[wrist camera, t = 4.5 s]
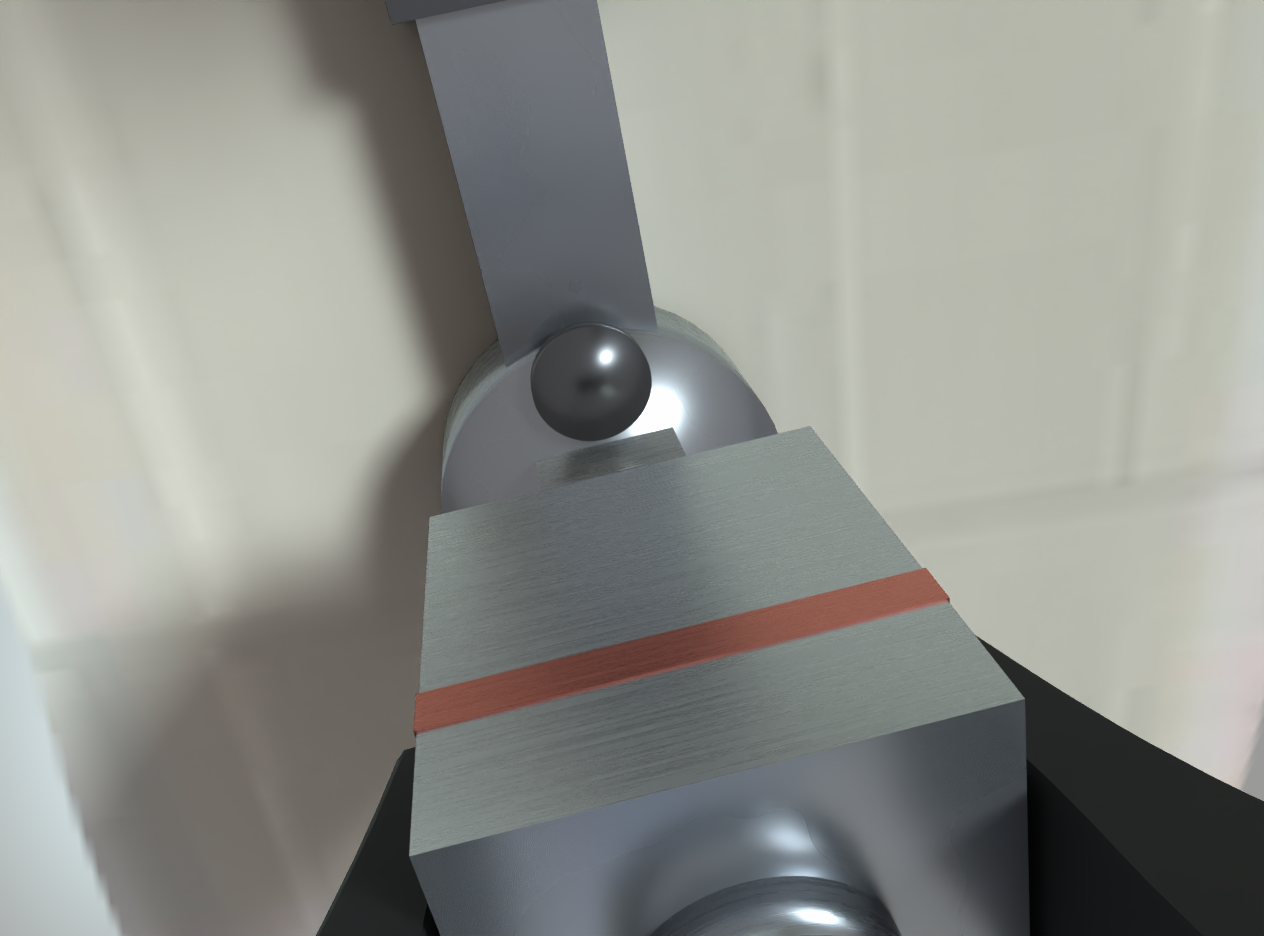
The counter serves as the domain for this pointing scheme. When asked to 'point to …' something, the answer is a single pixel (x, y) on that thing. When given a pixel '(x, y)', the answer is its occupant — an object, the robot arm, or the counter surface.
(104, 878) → the counter surface
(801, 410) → the counter surface
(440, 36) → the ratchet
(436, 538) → the striped cube with knob
